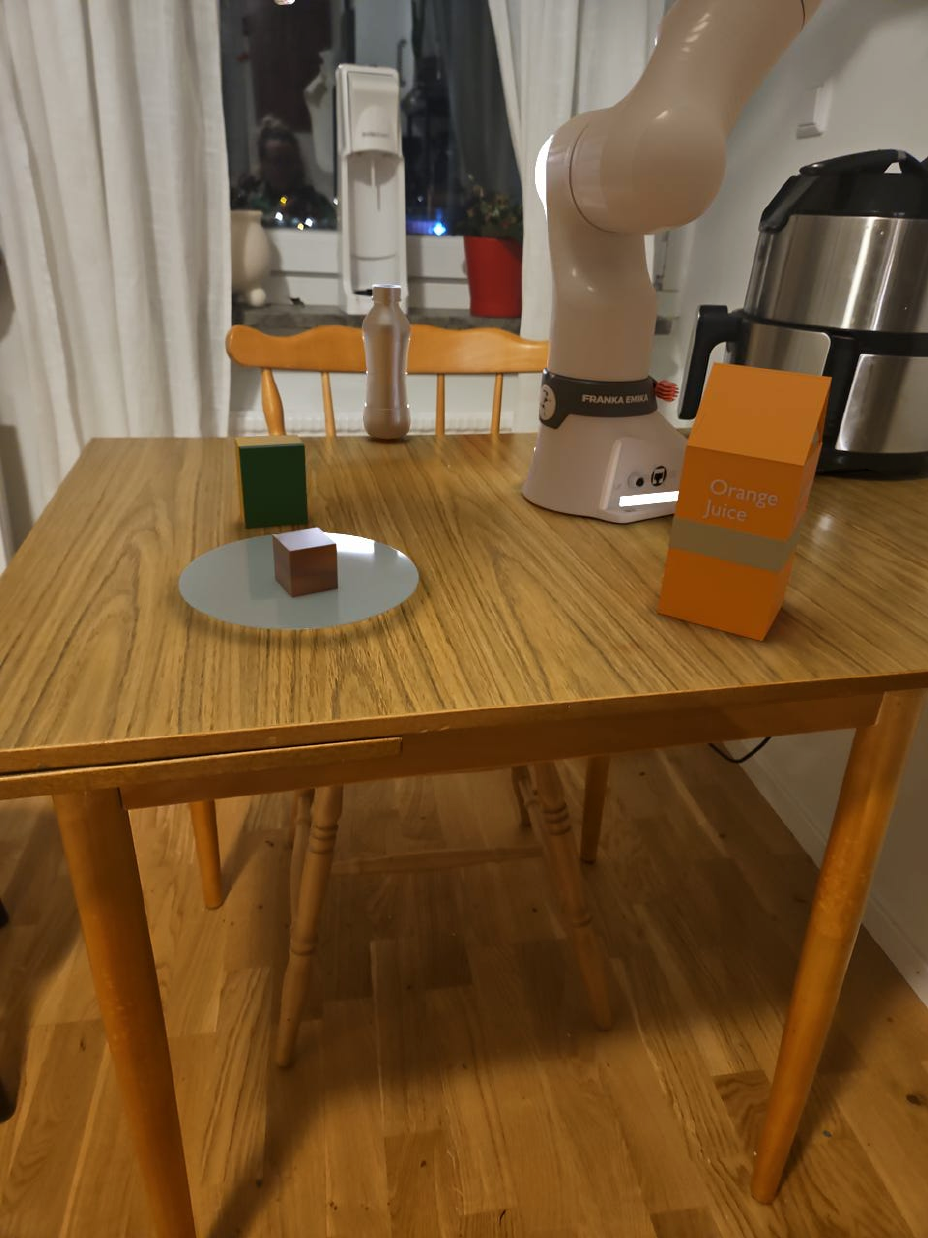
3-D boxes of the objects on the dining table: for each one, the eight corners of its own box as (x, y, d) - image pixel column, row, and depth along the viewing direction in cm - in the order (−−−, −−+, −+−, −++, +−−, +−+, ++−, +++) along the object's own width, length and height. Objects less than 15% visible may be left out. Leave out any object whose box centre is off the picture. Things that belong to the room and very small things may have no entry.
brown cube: (319, 570, 70) (318, 527, 68) (338, 588, 67) (337, 543, 65) (274, 579, 68) (271, 534, 66) (291, 597, 65) (289, 551, 63)
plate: (382, 535, 81) (382, 524, 81) (451, 624, 65) (452, 610, 64) (171, 555, 74) (170, 542, 74) (189, 659, 58) (188, 645, 57)
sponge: (300, 520, 84) (296, 434, 80) (308, 534, 80) (304, 445, 76) (241, 525, 82) (234, 437, 78) (246, 540, 78) (239, 448, 74)
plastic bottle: (403, 446, 111) (405, 289, 102) (356, 441, 112) (354, 285, 103) (415, 434, 117) (418, 285, 108) (370, 430, 118) (369, 282, 109)
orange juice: (683, 582, 74) (725, 355, 65) (782, 607, 70) (842, 370, 61) (655, 613, 68) (698, 368, 59) (762, 642, 64) (825, 385, 55)
